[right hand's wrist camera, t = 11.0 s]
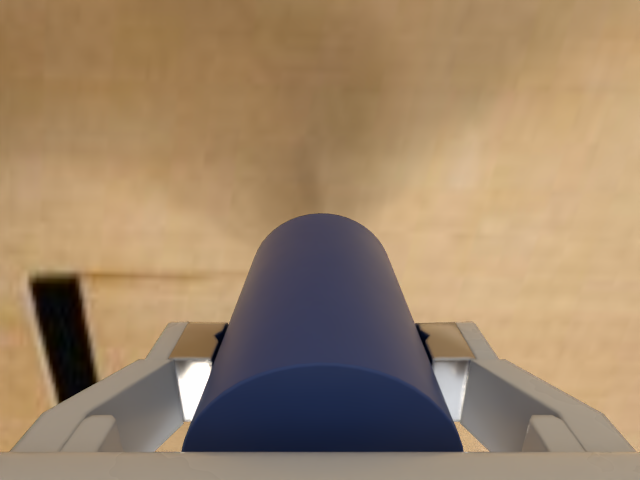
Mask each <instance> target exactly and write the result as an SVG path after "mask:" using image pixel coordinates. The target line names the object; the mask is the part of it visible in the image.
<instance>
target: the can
mask: <svg viewBox="0 0 640 480" xmlns="http://www.w3.org/2000/svg"><path fill="white" fill-rule="evenodd" d="M181 452H463V446H462V443H461V440H460V437H459V434H458V431H457V429H456V426H455V424H454V421H453V419H452V416H451V414H450V411H449V409H448V406H447V404H446V401H445V399H444V396H443V394H442V391H441V389H440V386H439V384H438V381H437V379H436V376H435V374H434V371H433V369H432V366H431V364H430V361H429V359H428V356H427V354H426V351H425V349H424V346H423V344H422V341H421V338H420V336H419V333H418V331H417V328H416V326H415V323H414V321H413V318H412V316H411V313H410V311H409V308H408V306H407V303H406V301H405V298H404V296H403V293H402V291H401V288H400V286H399V283H398V281H397V278H396V276H395V273H394V271H393V268H392V266H391V263H390V261H389V258H388V256H387V253H386V251H385V249H384V247H383V246H382V244H381V243H380V241H379V240H378V239H377V238H376V237H375V236H374V234H373V233H372V232H370V231H369V230H368V229H367V228H365V227H364V226H363V225H361V224H359V223H358V222H356V221H353V220H351V219H349V218H346V217H343V216H339V215H334V214H321V213H318V214H308V215H304V216H300V217H297V218H294V219H291V220H289V221H287V222H285V223H283V224H282V225H280V226H279V227H277V228H276V229H275V230H273V231H272V232H271V233H270V234H269V235H268V236H267V237H266V239H265V240H264V241H263V242H262V244H261V245H260V247H259V249H258V250H257V253H256V255H255V257H254V260H253V263H252V265H251V268H250V270H249V273H248V276H247V278H246V281H245V283H244V286H243V289H242V291H241V294H240V296H239V299H238V302H237V304H236V307H235V309H234V312H233V315H232V317H231V320H230V322H229V325H228V328H227V330H226V333H225V335H224V338H223V341H222V343H221V346H220V348H219V351H218V354H217V356H216V359H215V361H214V364H213V367H212V369H211V372H210V374H209V377H208V380H207V382H206V385H205V387H204V390H203V393H202V395H201V398H200V400H199V403H198V406H197V408H196V411H195V413H194V416H193V419H192V421H191V424H190V426H189V429H188V432H187V434H186V437H185V439H184V443H183V447H182V451H181Z"/></svg>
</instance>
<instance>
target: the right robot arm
mask: <svg viewBox="0 0 640 480" xmlns="http://www.w3.org/2000/svg"><path fill="white" fill-rule="evenodd" d="M415 326H416V328H417V331H418V333H419V336H420V338H421V341H422V344H423V346H424V349H425V351H426V354H427V356H428V359H429V361H430V364H431V366H432V369H433V371H434V374H435V376H436V379H437V381H438V384H439V386H440V389H441V391H442V394H443V396H444V399H445V401H446V404H447V406H448V409H449V411H450V414H451V416H452V419H453V421H456V422H460V424H461V425H463V426H464V427H465V428H466V429H467V430H468V431H469V432H470V433H471V434H472V435H473V436H474V437H475V438H476V439H477V440H478V441H479V442H480V443H481V444H482V445H484V446H485V447H486V448H487V449H488V450H489V451H490V452H154V451H155V450H156V449H157V448H159V447H160V446H161V445H162V444H163V443H164V442H165V441H166V440H167V439H168V438H169V437H170V436H171V435H172V434H173V433H174V432H175V431H176V430H177V429H178V428H179V427H180V426H181V425H183V422H187V421H192V419H193V416H194V413H195V411H196V408H197V406H198V403H199V400H200V398H201V395H202V393H203V390H204V387H205V385H206V382H207V380H208V377H209V374H210V372H211V369H212V367H213V364H214V361H215V359H216V356H217V354H218V351H219V348H220V346H221V343H222V341H223V338H224V335H225V333H226V330H227V328H228V323H219V322H170V323H168V324H167V326H166V327H165V329H164V331H163V332H162V334H161V335H160V337H159V338H158V340H157V341H156V343H155V344H154V346H153V347H152V349H151V351H150V352H149V354H148V355H147V357H146V358H145V359H139V360H137V361H135V362H133V363H131V364H130V365H128V366H126V367H124V368H123V369H121V370H119V371H117V372H115V373H114V374H112V375H110V376H108V377H106V378H105V379H103V380H101V381H99V382H97V383H96V384H94V385H92V386H90V387H89V388H87V389H85V390H83V391H81V392H80V393H78V394H76V395H74V396H72V397H71V398H69V399H67V400H65V401H63V402H62V403H60V404H58V405H56V406H54V407H53V408H51V409H49V410H47V411H46V412H44V413H42V414H41V415H40V417H39V418H38V419H37V420H36V421H35V422H34V424H33V425H32V426H31V427H30V428H29V429H28V431H27V432H26V433H25V434H24V435H23V436H22V438H21V439H20V440H19V441H18V442H17V443H16V445H15V446H14V447H13V448H12V449H11V450H10V452H0V480H640V452H636V451H635V450H634V449H633V447H632V446H631V445H630V444H629V443H628V442H627V441H626V439H625V438H624V437H623V436H622V435H621V434H620V432H619V431H618V430H617V429H616V428H615V427H614V426H613V424H612V423H611V422H610V421H609V420H608V419H607V417H606V416H605V415H604V414H603V413H601V412H599V411H597V410H595V409H594V408H592V407H590V406H588V405H586V404H585V403H583V402H581V401H579V400H577V399H576V398H574V397H572V396H570V395H568V394H567V393H565V392H563V391H561V390H559V389H558V388H556V387H554V386H552V385H550V384H549V383H547V382H545V381H543V380H541V379H540V378H538V377H536V376H534V375H532V374H531V373H529V372H527V371H525V370H523V369H522V368H520V367H518V366H516V365H514V364H513V363H511V362H509V361H507V360H505V359H499V358H498V357H497V355H496V354H495V352H494V351H493V349H492V348H491V346H490V345H489V343H488V342H487V340H486V339H485V337H484V336H483V335H482V333H481V332H480V330H479V329H478V327H477V326H476V324H475V323H473V322H448V323H415Z"/></svg>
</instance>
